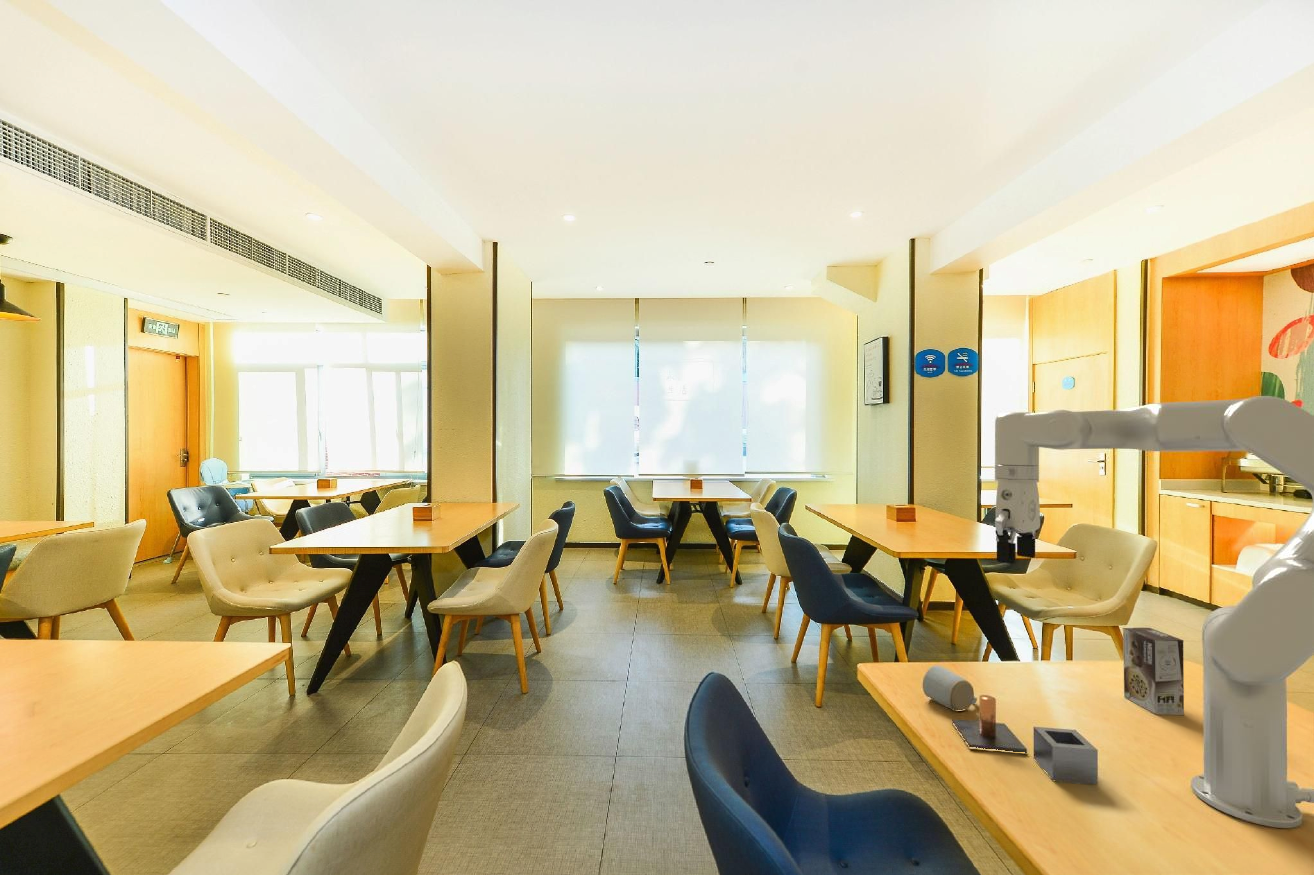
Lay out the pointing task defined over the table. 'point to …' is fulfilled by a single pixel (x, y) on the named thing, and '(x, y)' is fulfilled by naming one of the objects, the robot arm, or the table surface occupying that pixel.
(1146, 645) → the coffee box
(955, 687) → the ceramic mug
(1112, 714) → the table surface
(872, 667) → the table surface
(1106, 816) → the table surface
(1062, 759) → the grey square open box
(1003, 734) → the post
